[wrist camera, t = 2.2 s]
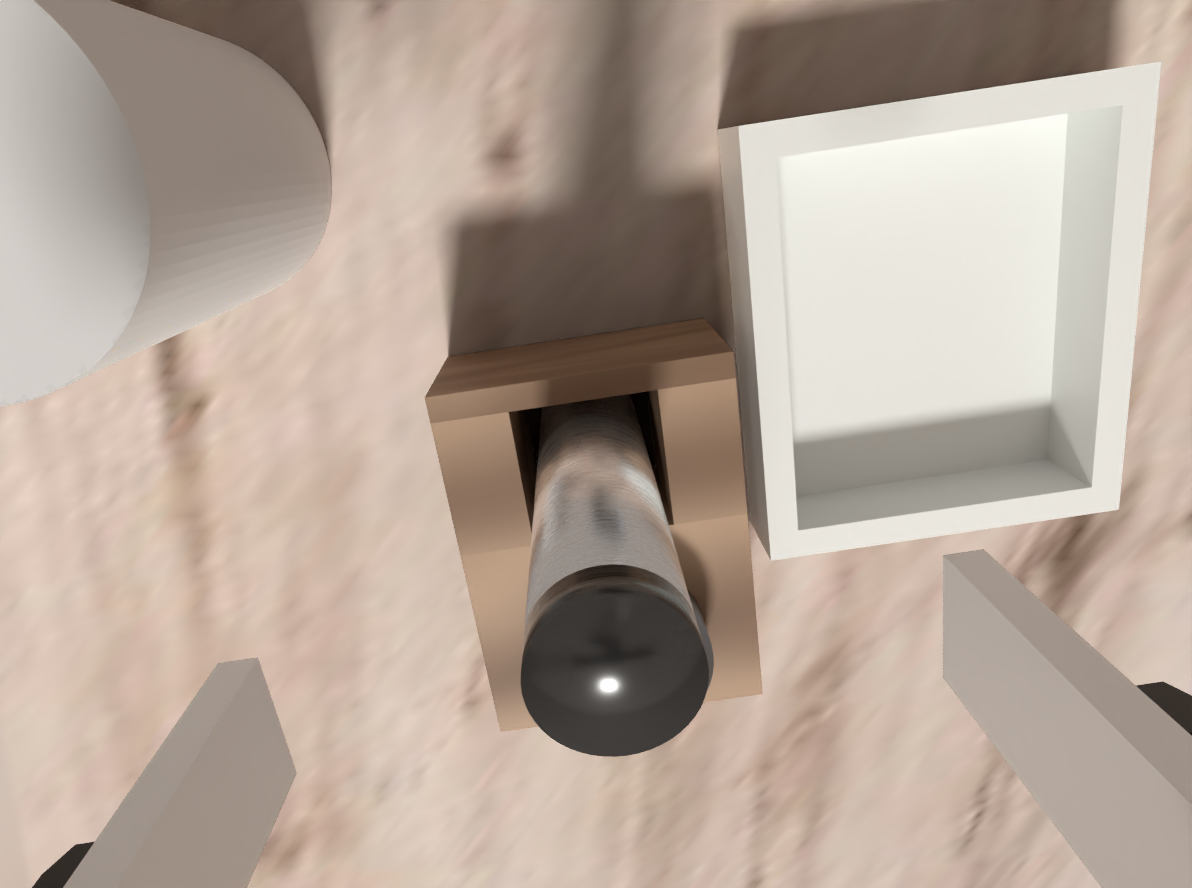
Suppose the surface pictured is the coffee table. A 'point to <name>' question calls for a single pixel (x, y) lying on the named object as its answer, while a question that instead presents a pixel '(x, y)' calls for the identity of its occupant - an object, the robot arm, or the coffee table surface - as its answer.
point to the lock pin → (606, 591)
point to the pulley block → (683, 469)
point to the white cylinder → (139, 186)
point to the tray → (938, 308)
